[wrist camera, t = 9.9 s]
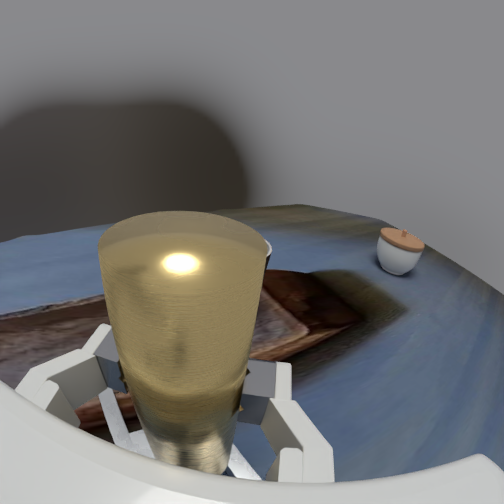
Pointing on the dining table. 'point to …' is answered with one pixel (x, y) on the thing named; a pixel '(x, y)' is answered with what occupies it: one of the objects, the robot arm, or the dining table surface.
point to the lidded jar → (398, 250)
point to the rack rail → (141, 446)
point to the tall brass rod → (184, 326)
